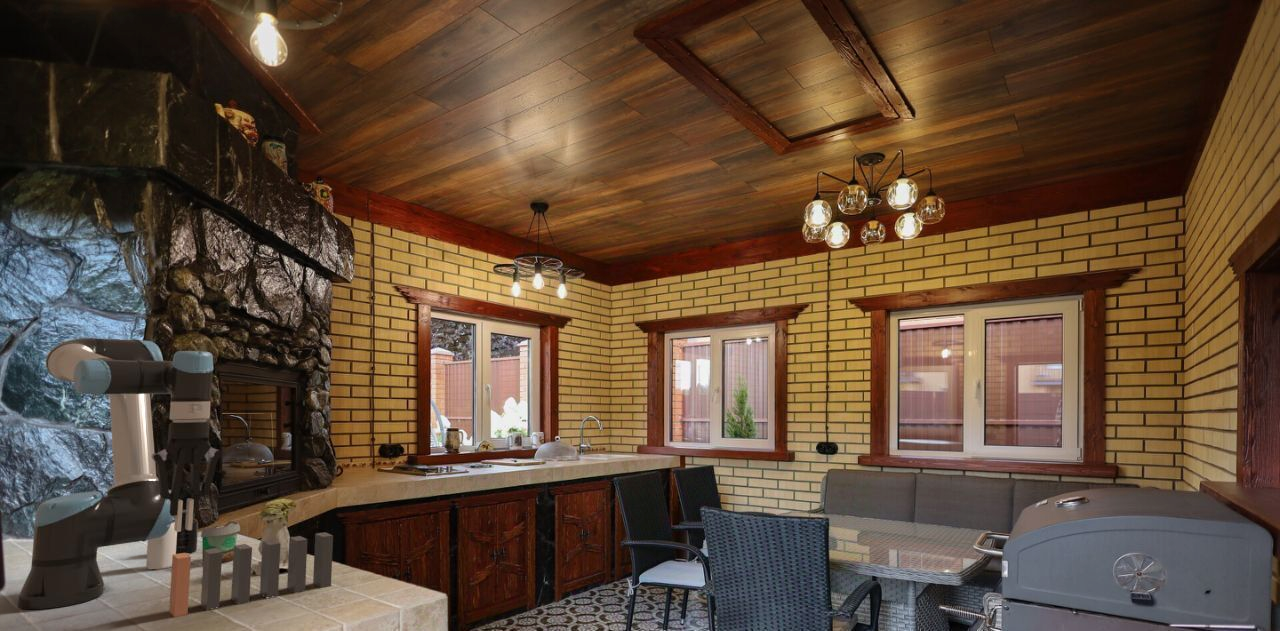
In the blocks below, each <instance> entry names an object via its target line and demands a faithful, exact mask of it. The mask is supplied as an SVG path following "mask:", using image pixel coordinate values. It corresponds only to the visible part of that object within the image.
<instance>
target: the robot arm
mask: <svg viewBox="0 0 1280 631" xmlns="http://www.w3.org/2000/svg"><path fill="white" fill-rule="evenodd" d="M213 359H214V356H213V354H212V353H211V352H208V351H197V350H180V351H178V350H177V351H176V352H174V355H173V359H172V360H164V359H163V354H162V351H161V348H160V347H159V345H157V344H156V343H155V342H153V341H151V340H141V339H138V338H135V339H120V338H119V339H117V338H116V339H115V338H113V339H112V338H94V337H82V338H75V339H70V340H67V341H64V342H61V343H59V344H57V345H56V346H55V347H53V348H51V350H50V351H49V352H48V354H47V355H46V359H45V366H46V370H47V372H48V373H49V374H50V375H51V376H52V377H53V378H55V379H57V380H59V381H62V382H66V383H73V386H74V391H75V392H76V393H77V394H79V395H91V396H100V395H107V396H108V397H109V410H110V427H111V429H110V430H111V446H112V447H111V448H112V460H113V462H112V467H113V481H114V482H113V485H111V487H110V488H109V489H107V492H106V493H107V495H106V496H103V495H102V492H100V491H96V490H95V491H93V490H92V491H85V492H78V493H71V494H66V495H61V496H57V497H53V498H51V499H47V500H45V501H43V502H41V503H40V504H39V506H38V507H37V509H36V512H35V518H34V522H33V527H34V528H33V529H34V531H33V532H34V533H33V543H32V555H31V565H30V566H31V567H30V571H29V573H28V576H26V579H25V581H24V583H23V586H22V588H21V590H20V592H19V595H18V599H17V607H18V608H20V609H24V610H25V609H26V610H40V609H41V610H43V609H52V608H54V609H55V608H61V607H66V606H67V607H68V606H71V605H76V604H81V603H85V602H89V601H91V600H94V599H97V598H99V597H101V596H102V595H103V594H104V589H105V587H104V586H105V583H104V579H103V576H102V572H101V571H100V566H99V565H98V560H97V558H98V557H97V555H98V548H103V547H111V546H116V545H123V544H124V545H125V544H131V543H137V542H143V543H144V542H146V541H148V540H150V539H156V538H160V537H162V536H164V535H165V534H166V533H167V531H168V530H169V528H170V526H171V523H172V520H175V525H174V530H175V531H176V532H180V531H181V523H182V510H183V505H184V504H183V503H184V501H183V500H182V499H181V498H180V493H181V486H182V479H183V473H184V468H185V465H186V464H189V467H190V496H191V497H190V498H187V499H186V509H185V510H186V523H185V529H186V530H192V522H193V514H194V513H195V514H198V513H199V509H200V499H201V498H202V497H204V496H207V495H209V494H210V492H211V491H210V490H211V486H212V483H213V480H214V474H215V472H216V467H217V463H218V460H219V459H220V457H221V456H222V454H223V451H222V450H220V449H216V448H214V447H212V445H211V443H210V438H209V436H210V422H209V421H207V420H209V419H210V418H211V401H212V388H213V387H212V386H213V371H214V369H215V368H214V360H213ZM151 395H170V408H169V420H171V421H172V422H170V423H169V424H168V437H167V443H166V445H165V447H164V449H163V450H160V451H159V452H157V453H156V452H155V445H154V444H155V443H154V432H153V416H152V406H151V404H152V403H151ZM207 453H208V454H207ZM206 454H207V457H208V461H207V464H206V468H205V471H204V477H203V481H202V484H201V480H200V478H201V477H200V472H201V471H200V466H201V460H203V458H204V457H205V456H206ZM167 455H168V457H170V459H171V460H172V462H173V463H174V464H173V475H172V481H171V482H172V483H171V488H170V489H169V483H168V475H167V470H166V469H167V468H166V463H165V461H166V460H167ZM200 484H201V485H200ZM195 514H194V515H195Z"/></svg>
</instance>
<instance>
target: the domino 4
mask: <svg viewBox="0 0 1280 631" xmlns="http://www.w3.org/2000/svg"><path fill="white" fill-rule="evenodd" d="M260 562H261V575H260V579H259V580H260V582H259V583H260V585H259V594H260V593H261V594H262V595H264V596H265V597H272V596H277V595H278V596H279V584H280V583H279V582H280V568H279V564H280V543H279V542H277V541H275V540H269V541H262V556H261V561H260ZM261 594H260V595H261ZM262 595H261V596H262ZM264 596H263V597H264ZM265 597H264V598H265Z"/></svg>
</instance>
